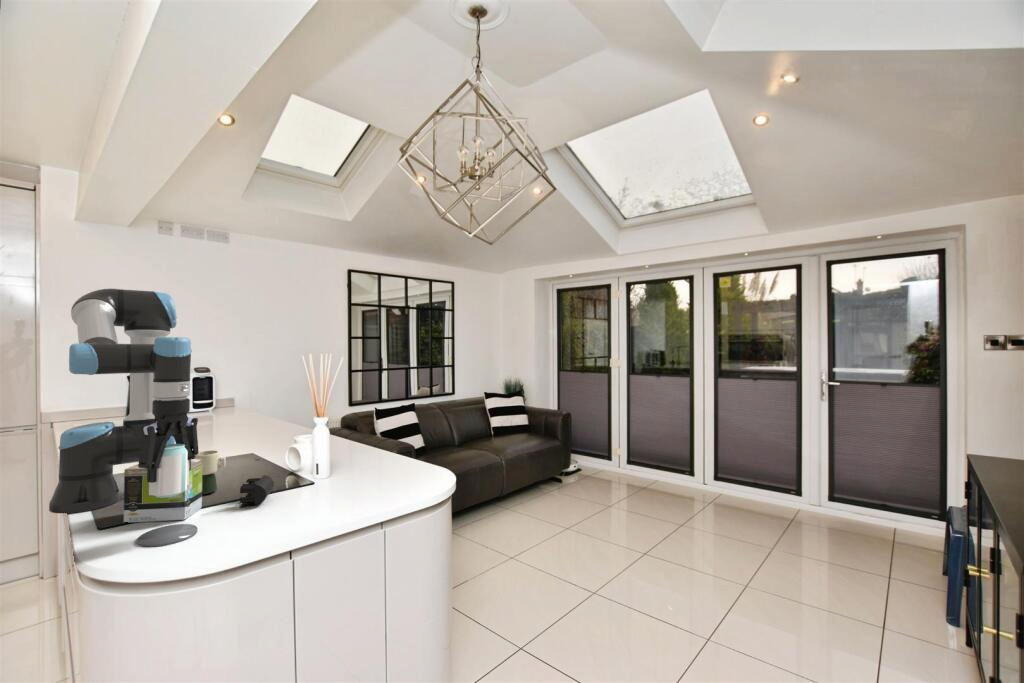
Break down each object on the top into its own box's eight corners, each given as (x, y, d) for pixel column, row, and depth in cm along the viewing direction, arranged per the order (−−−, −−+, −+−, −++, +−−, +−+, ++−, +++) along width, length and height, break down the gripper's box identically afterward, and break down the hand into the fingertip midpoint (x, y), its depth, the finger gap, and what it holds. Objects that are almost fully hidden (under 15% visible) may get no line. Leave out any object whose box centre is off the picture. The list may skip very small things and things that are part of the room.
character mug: (227, 488, 150) (228, 449, 150) (221, 495, 143) (222, 454, 143) (189, 491, 146) (190, 451, 146) (181, 498, 139) (182, 456, 139)
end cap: (265, 506, 134) (266, 484, 134) (239, 508, 132) (239, 485, 132) (273, 495, 144) (274, 474, 144) (248, 497, 142) (249, 475, 142)
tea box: (202, 507, 132) (204, 457, 132) (184, 521, 122) (185, 467, 122) (145, 509, 130) (146, 458, 130) (121, 524, 120) (122, 468, 120)
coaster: (123, 544, 108) (123, 541, 108) (169, 524, 120) (169, 522, 120) (166, 549, 106) (167, 546, 106) (209, 528, 118) (209, 526, 118)
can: (143, 498, 110) (145, 448, 110) (167, 488, 117) (168, 442, 117) (171, 499, 109) (172, 449, 109) (193, 489, 116) (194, 443, 116)
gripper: (146, 404, 103) (143, 504, 103) (216, 394, 122) (214, 479, 122) (118, 402, 104) (116, 502, 104) (192, 393, 124) (190, 477, 123)
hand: (169, 489), depth 113 cm, fingers closed on can, 7 cm apart
